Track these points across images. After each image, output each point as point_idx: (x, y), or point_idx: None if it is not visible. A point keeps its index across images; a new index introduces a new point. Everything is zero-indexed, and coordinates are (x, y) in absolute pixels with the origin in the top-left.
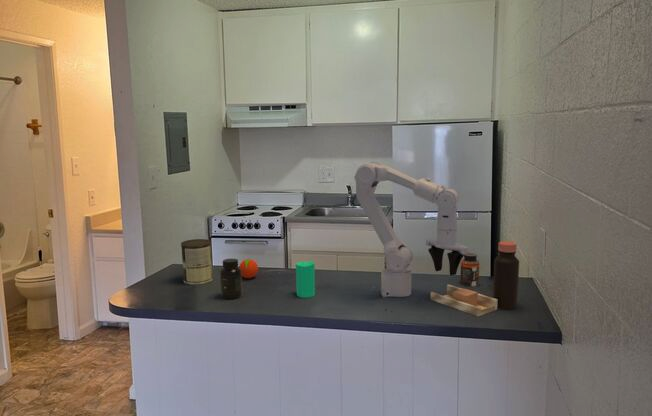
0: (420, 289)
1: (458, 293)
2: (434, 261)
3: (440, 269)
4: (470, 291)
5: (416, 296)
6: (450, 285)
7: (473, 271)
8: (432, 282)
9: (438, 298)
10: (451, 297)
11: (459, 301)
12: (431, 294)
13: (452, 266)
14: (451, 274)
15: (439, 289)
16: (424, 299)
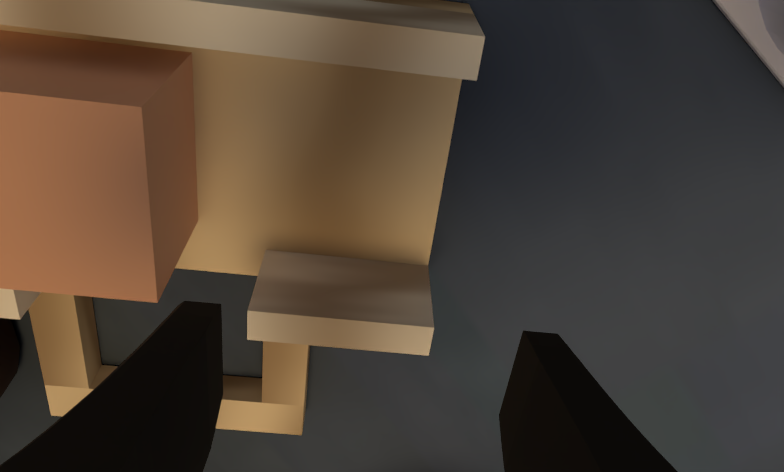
0: (750, 274)
1: (39, 94)
2: (626, 460)
3: (507, 411)
4: (20, 261)
5: (704, 85)
6: (402, 343)
7: None
8: (722, 456)
9: (347, 9)
10: (343, 226)
11: (2, 6)
12: (467, 29)
13: (62, 418)
14: (176, 308)
15: (595, 372)
16: (586, 66)
